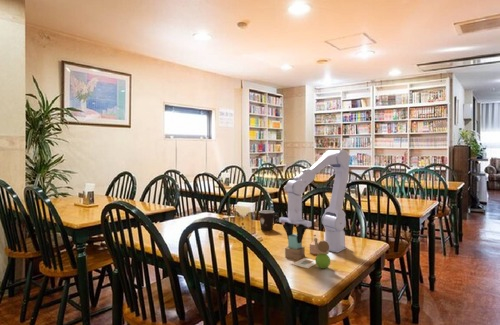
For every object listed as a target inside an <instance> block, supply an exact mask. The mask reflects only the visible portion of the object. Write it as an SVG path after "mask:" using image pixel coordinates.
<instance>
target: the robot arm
mask: <svg viewBox="0 0 500 325" xmlns="http://www.w3.org/2000/svg"><path fill="white" fill-rule="evenodd" d="M350 160H351V156H350V154H349V153H348V151H347V150H345V149H335V150H333V149H328V150H326V151H325V152H324V153H323V154H322V156H321V157H320V158H319V159H318V160H317V161H316V162H315V163H314V164H312V166H311V167H310V168H303V169H302V170H301V172H300V173H299V174H297V175H296V176H294V178H293V179H290V180H288V181H287V182H286V184H285V186H284V190H285V192H286V193H287V194H286V195H287V217H285V216H284V217H283V216H281V217H278V222H279V223H283V224H282V227H283V229H284V231H285V234H286V236H287V238H288V236H289V235H292V234H294V226H295V225H297V226H295V230H296V234H297V241H298V243H301V242H302V243H303V237H304V235H305V232H306V230H307V228H310V227H312V221H310V220H306V219H303V215H302V213H303V206H302V205H303V197H302V196H303V194H304V193H305V190H306V188H307V186H308V185H310V184H311V183H313V181H314V180H315V179H316V175H317V174H318V173H319V172H321V171H322V170H324V168H326V167H327V166H330V167H331V168H333V170H334V171H335V176H334V180H333V185H332V192H331V197H330V201H329V202H330V203H329V206H328V207H327V208H325V209H324V213H323V214H322V217H321V224H322V225H323V227H324V229H325V230H324V234H325V235H324V236H325V237H324V241H326V242H327V243H328V245H329V250H328V251H327V252H332V253H337V254H338V253H340V252H342V251H344V250H345V249H347V248H348V247H347V246H346V232H345V230H344V228H345V227H346V225H347V221H346V212H345V211H344V210H343V206H344V199H345V195H346V189H347V184H348V179H349V173H350Z"/></svg>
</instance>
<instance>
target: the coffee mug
mask: <svg viewBox="0 0 500 325" xmlns="http://www.w3.org/2000/svg"><path fill="white" fill-rule="evenodd" d="M258 216H259V224H260V230H261V231H262V230H264V231H263V232H271V231H270V230H272V231H273V230H274V228H273V227H274V225H275V224H277V222H279V217H278V216H276V215H275V211H274V210H270V209H267V210H266V209H264V210H259V211H258ZM274 217H275V218H276V221H275V222H274V220H275V219H274Z"/></svg>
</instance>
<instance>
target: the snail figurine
mask: <svg viewBox="0 0 500 325" xmlns="http://www.w3.org/2000/svg"><path fill="white" fill-rule="evenodd" d="M318 240H319V239H318V238H317V235H316V234H314V235H313V242H315V247H316V250H317V251H318V252H319V253H320V254H316V257H315V260H316V264H315V265H317V267H318V268H320V269H327V268H328V267H329V266H330V265H331V258H330V256H329V253H330V251H328V250H329V245H328V243H327V242H326V241H325V240H319V242H318Z"/></svg>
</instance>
